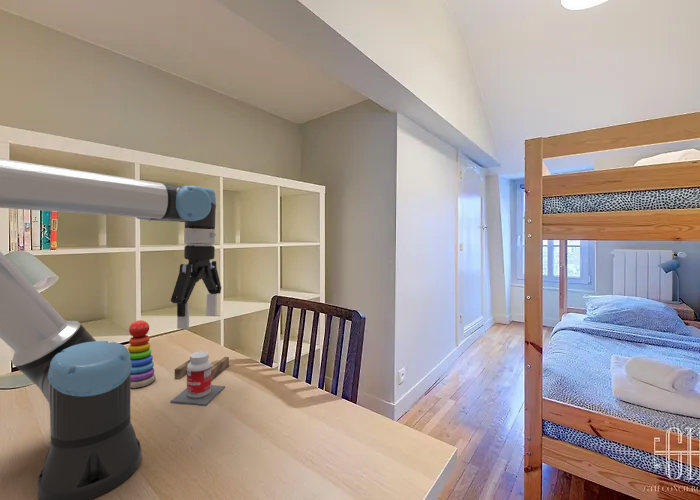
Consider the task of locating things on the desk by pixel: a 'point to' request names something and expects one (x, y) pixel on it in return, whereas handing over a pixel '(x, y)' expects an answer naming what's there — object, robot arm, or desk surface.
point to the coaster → (204, 400)
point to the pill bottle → (199, 375)
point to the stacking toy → (140, 355)
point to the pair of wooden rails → (215, 368)
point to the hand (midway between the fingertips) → (198, 321)
